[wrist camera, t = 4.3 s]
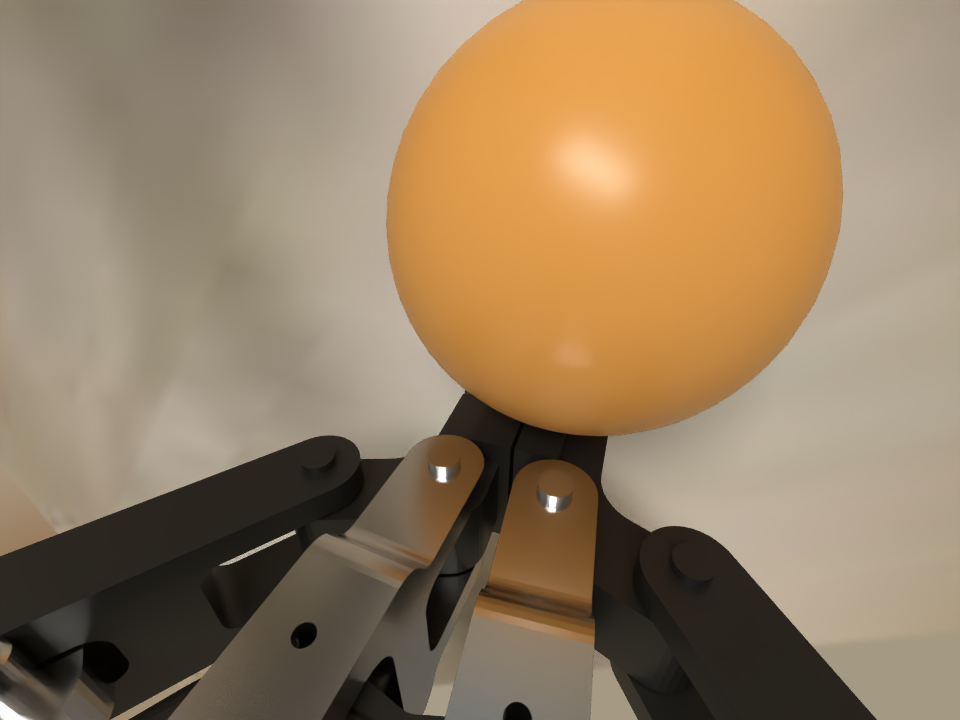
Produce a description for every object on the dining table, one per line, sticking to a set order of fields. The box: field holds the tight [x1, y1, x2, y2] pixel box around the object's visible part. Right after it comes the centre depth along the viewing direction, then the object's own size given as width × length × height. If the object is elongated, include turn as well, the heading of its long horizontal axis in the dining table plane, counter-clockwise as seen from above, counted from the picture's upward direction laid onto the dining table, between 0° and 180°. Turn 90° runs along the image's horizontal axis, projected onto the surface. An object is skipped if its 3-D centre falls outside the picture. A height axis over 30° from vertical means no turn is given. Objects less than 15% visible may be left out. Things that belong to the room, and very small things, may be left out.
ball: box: [386, 0, 843, 436], centre depth 7 cm, size 6×6×6 cm
